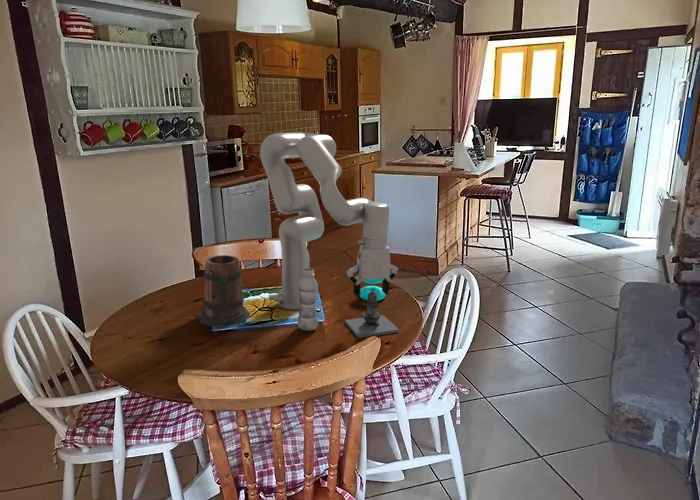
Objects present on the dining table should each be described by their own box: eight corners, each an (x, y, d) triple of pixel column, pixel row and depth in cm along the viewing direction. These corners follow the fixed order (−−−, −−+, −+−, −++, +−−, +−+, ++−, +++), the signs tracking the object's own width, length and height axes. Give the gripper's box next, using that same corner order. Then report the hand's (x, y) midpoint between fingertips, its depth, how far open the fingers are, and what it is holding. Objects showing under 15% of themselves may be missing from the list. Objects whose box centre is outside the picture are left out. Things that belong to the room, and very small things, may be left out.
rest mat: (358, 338, 161) (358, 335, 160) (344, 322, 171) (344, 320, 171) (398, 332, 165) (399, 329, 165) (383, 317, 176) (383, 315, 176)
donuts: (361, 267, 197) (388, 269, 196) (360, 291, 200) (386, 293, 199) (357, 275, 188) (385, 277, 186) (356, 301, 191) (383, 303, 189)
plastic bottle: (302, 334, 162) (302, 274, 156) (294, 326, 167) (294, 267, 162) (321, 331, 164) (322, 271, 159) (312, 323, 170) (313, 265, 165)
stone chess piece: (378, 329, 165) (380, 293, 162) (360, 327, 166) (361, 291, 163) (381, 321, 170) (383, 287, 167) (363, 320, 172) (365, 285, 168)
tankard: (198, 308, 180) (195, 252, 174) (248, 305, 184) (246, 250, 178) (196, 337, 158) (193, 275, 152) (253, 332, 162) (251, 272, 157)
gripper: (353, 247, 154) (349, 301, 159) (405, 244, 160) (400, 296, 165) (344, 240, 161) (341, 292, 166) (394, 238, 167) (390, 287, 172)
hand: (371, 294), depth 166 cm, fingers open, 9 cm apart
